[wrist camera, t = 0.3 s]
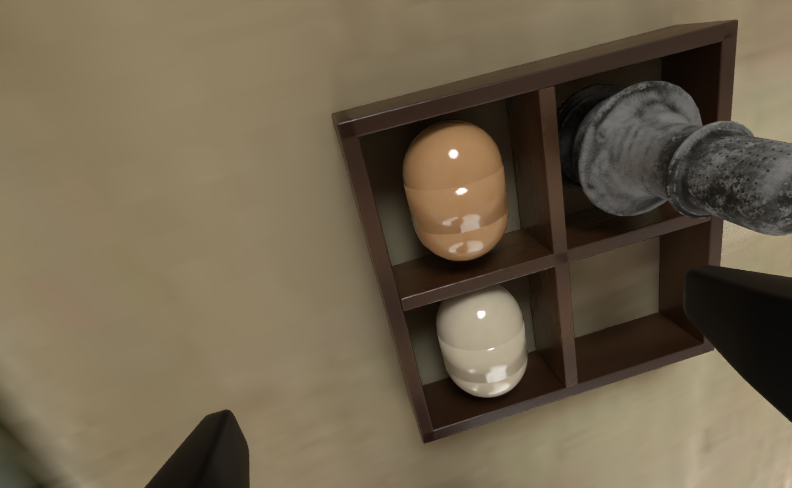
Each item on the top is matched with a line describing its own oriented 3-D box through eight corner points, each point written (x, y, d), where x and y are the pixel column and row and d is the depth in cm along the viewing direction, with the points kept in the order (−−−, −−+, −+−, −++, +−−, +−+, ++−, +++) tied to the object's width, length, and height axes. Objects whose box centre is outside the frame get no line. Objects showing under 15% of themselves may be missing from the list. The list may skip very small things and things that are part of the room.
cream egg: (511, 350, 27) (547, 400, 23) (441, 372, 27) (465, 427, 23) (497, 256, 25) (534, 294, 21) (419, 279, 24) (442, 322, 20)
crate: (669, 317, 29) (714, 350, 26) (409, 399, 27) (423, 444, 24) (675, 24, 22) (739, 19, 19) (330, 113, 21) (335, 123, 17)
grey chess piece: (541, 85, 22) (780, 111, 11) (654, 70, 23) (984, 81, 12) (539, 203, 24) (734, 323, 13) (641, 186, 25) (907, 287, 14)
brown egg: (493, 227, 24) (530, 261, 20) (413, 250, 24) (435, 289, 20) (474, 103, 22) (513, 114, 18) (384, 127, 21) (403, 143, 17)
